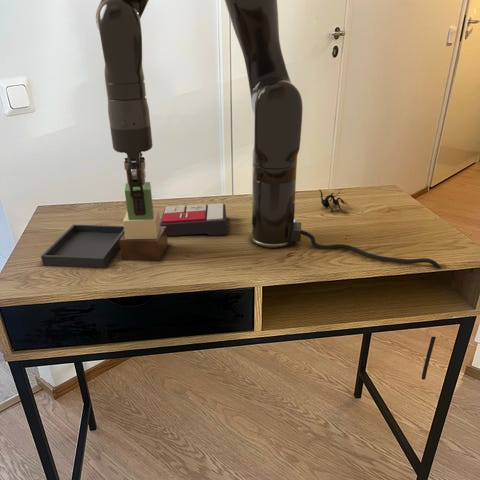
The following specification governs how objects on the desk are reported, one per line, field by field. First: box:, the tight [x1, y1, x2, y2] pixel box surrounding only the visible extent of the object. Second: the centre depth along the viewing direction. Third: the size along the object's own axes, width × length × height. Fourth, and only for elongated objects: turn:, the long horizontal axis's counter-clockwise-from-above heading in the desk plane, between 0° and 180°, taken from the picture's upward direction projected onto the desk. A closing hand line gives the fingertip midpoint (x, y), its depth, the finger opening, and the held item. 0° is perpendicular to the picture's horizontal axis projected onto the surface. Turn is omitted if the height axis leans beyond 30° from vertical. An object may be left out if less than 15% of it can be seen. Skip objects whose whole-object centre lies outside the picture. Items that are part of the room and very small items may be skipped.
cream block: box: [122, 208, 161, 239], centre depth 105 cm, size 6×6×4 cm
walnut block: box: [119, 226, 169, 262], centre depth 107 cm, size 8×8×4 cm
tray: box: [40, 224, 125, 269], centre depth 109 cm, size 13×17×2 cm
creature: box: [318, 189, 349, 213], centre depth 128 cm, size 8×5×8 cm
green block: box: [124, 181, 154, 220], centre depth 102 cm, size 5×5×6 cm
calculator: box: [160, 202, 227, 237], centre depth 119 cm, size 11×4×15 cm
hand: (140, 209), depth 103 cm, fingers closed on green block, 5 cm apart
